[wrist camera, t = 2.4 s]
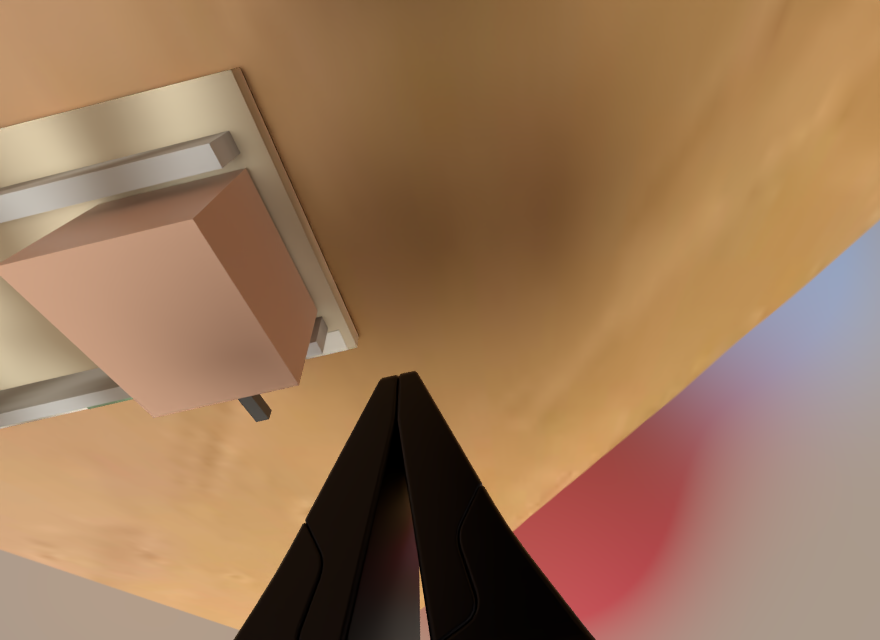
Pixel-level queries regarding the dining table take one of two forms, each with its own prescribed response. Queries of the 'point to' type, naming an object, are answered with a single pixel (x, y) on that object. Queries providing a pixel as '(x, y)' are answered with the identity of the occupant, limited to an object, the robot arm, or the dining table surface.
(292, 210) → the base
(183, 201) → the block
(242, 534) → the dining table surface
